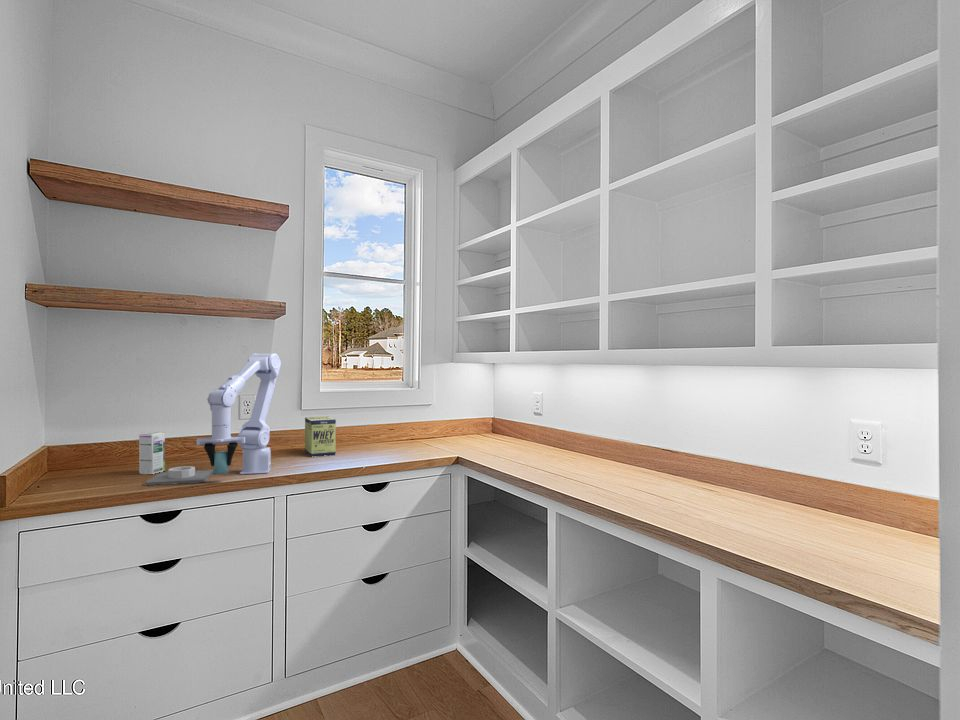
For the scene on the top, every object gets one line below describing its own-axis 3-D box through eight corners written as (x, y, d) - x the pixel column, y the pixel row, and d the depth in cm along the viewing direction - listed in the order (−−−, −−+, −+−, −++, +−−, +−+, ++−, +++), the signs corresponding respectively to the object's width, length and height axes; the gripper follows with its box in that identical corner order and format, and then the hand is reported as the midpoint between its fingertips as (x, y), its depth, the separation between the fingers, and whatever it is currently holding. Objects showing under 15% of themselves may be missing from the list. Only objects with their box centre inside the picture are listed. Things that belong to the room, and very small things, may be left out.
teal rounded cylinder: (229, 471, 175) (229, 450, 175) (226, 473, 171) (226, 452, 171) (215, 471, 174) (215, 451, 174) (212, 474, 170) (212, 453, 170)
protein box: (311, 457, 217) (311, 420, 217) (304, 451, 231) (304, 417, 231) (336, 455, 222) (336, 419, 222) (327, 449, 236) (328, 416, 236)
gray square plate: (214, 472, 187) (214, 463, 187) (202, 482, 171) (202, 472, 171) (161, 475, 182) (161, 465, 182) (144, 485, 167) (144, 474, 167)
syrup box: (152, 474, 182) (152, 434, 182) (138, 474, 184) (138, 433, 184) (165, 471, 188) (165, 432, 188) (151, 470, 189) (152, 431, 189)
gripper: (194, 427, 167) (193, 469, 167) (242, 425, 171) (242, 466, 171) (199, 424, 174) (199, 464, 174) (246, 423, 177) (246, 462, 177)
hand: (221, 465), depth 173 cm, fingers closed on teal rounded cylinder, 4 cm apart
